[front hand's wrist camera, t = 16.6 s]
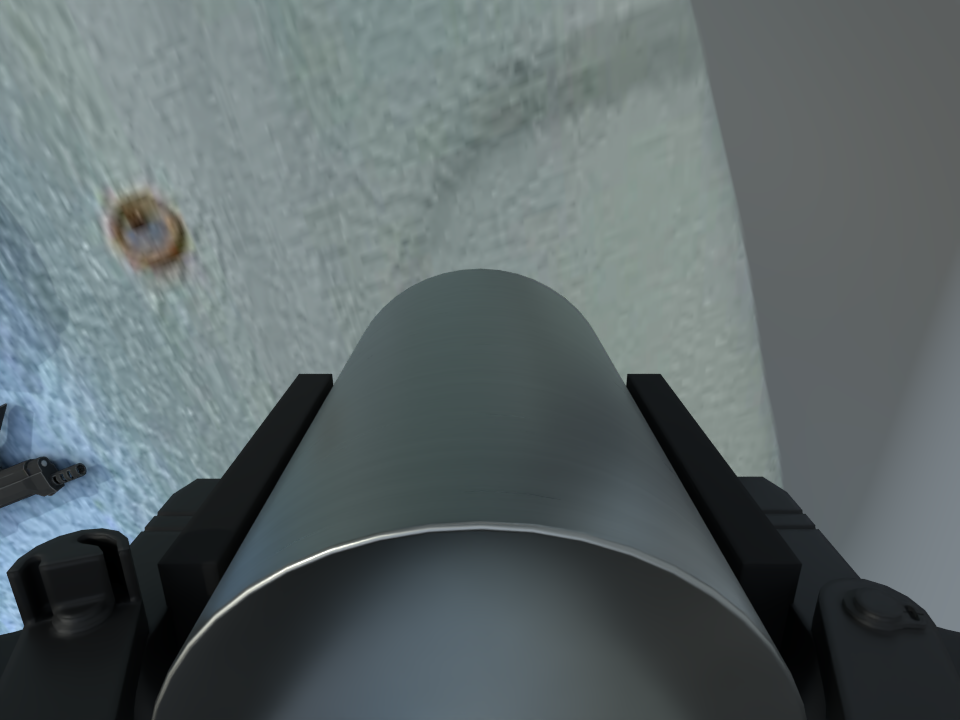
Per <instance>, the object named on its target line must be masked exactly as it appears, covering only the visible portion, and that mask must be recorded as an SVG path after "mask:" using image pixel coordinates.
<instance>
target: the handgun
mask: <svg viewBox="0 0 960 720" xmlns="http://www.w3.org/2000/svg"><path fill="white" fill-rule="evenodd" d="M6 407H7V404H3V405H1V406H0V430H1V426H2V422H3V418H4V414H5V410H6ZM77 469H78V470H79V472H78V470H77ZM68 471H70V473H71V475H72V478H71V477H70V474H69V472H68ZM61 474H63V476H64V478H65V480H63V477H62V475H61ZM85 474H86V467H85V466H84V465H83V464H82V463H78V464H76V465H73V466H71V467H68V468H65V469H63V470H60V471H58V470H57V468H56V467H55V465H54V464H51V462H50V461H49V459H48V458H47V457H39V458H37V459H29V460H27V461H24V462H22V463H19V464H17V465H14V466H12V467H9V468H7V469H2V468H0V508H2V507H4V506H7V505H10V504H12V503H15V502H17V501H20V500H22V499H25V498H27V497H30V496H33V495H35V494H37V495H41V496H47V495H49V496H52V495H54V494H55V493H56V492H57V491H58V490H60V489H61V488H62V487H63V486H65V485H64V483H66V482H68V481H71V480H73V479H76V478H79V477H81V476H84V475H85Z"/></svg>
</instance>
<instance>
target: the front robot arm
mask: <svg viewBox="0 0 960 720" xmlns="http://www.w3.org/2000/svg"><path fill="white" fill-rule="evenodd" d="M332 387H333V378H332V374H299V375H298V376H297V377H296V379H295V380H294V382H293V383H292V384H291V386H290V387H289V388H288V390H287V391H286V392H285V394H284V395H283V396H282V398H281V399H280V400H279V402H278V403H277V404H276V406H275V407H274V408H273V410H272V411H271V412H270V414H269V415H268V416H267V418H266V419H265V420H264V422H263V423H262V424H261V426H260V427H259V428H258V430H257V431H256V432H255V434H254V435H253V436H252V438H251V439H250V440H249V442H248V443H247V444H246V446H245V447H244V448H243V450H242V451H241V452H240V454H239V455H238V456H237V458H236V459H235V461H234V462H233V463H232V465H231V466H230V467H229V469H228V470H227V471H226V473H225V474H224V475H223V477H222V478H221V479H196V480H195V481H193V482H191V483H190V484H188V485H187V486H185V487H184V488H182V489H180V490H179V491H177V492H176V493H174V494H173V495H172V496H171V497H170V498H169V500H168V501H167V502H166V503H165V504H164V505H163V507H162V508H161V509H160V510H159V511H158V515H157V516H154V517H153V518H152V520H151V521H150V522H149V523H148V524H147V526H146V527H145V531H144V532H141V533H140V534H139V535H138V536H137V537H136V539H135V540H134V541H133V542H132V543H131V544H130V545H129V541H128V538H127V537H125V536H124V535H123V534H122V533H120V532H119V531H115V530H109V529H104V528H100V529H89V530H80V531H77V532H73V533H69V534H65V535H62V536H58V537H56V538H54V539H52V540H49V541H47V542H45V543H43V544H41V545H38V546H36V547H35V548H33V549H32V550H30V551H29V552H28V553H26V554H25V555H23V556H22V557H20V558H19V559H18V560H17V561H16V562H15V563H14V564H13V566H12V567H11V568H10V569H9V570H8V571H7V576H8V579H9V582H10V585H11V588H12V591H13V594H14V597H15V600H16V603H17V606H18V609H19V612H20V615H21V618H22V621H23V624H24V628H23V630H20V631H16V632H12V633H8V634H3V635H0V720H151V719H152V715H153V710H154V705H155V701H156V699H157V696H158V694H159V692H160V689H161V687H162V685H163V682H164V680H165V677H166V675H167V673H168V670H169V669H170V667H171V665H172V664H173V662H174V660H175V658H176V657H177V655H178V653H179V651H180V650H181V648H182V646H183V645H184V643H185V641H186V639H187V638H188V636H189V634H190V632H191V631H192V629H193V627H194V626H195V624H196V622H197V620H198V619H199V617H200V615H201V613H202V612H203V610H204V608H205V607H206V605H207V603H208V601H209V600H210V598H211V596H212V594H213V593H214V591H215V589H216V588H217V586H218V584H219V582H220V581H221V579H222V577H223V575H224V574H225V572H226V570H227V569H228V567H229V565H230V563H231V562H232V560H233V558H234V556H235V555H236V553H237V551H238V550H239V548H240V546H241V544H242V543H243V541H244V539H245V537H246V536H247V534H248V532H249V531H250V529H251V527H252V525H253V524H254V522H255V520H256V518H257V517H258V515H259V513H260V512H261V510H262V508H263V506H264V505H265V503H266V501H267V499H268V498H269V496H270V494H271V493H272V491H273V489H274V487H275V486H276V484H277V482H278V480H279V479H280V477H281V475H282V474H283V472H284V470H285V468H286V467H287V465H288V463H289V461H290V460H291V458H292V456H293V455H294V453H295V451H296V449H297V448H298V446H299V444H300V442H301V441H302V439H303V437H304V436H305V434H306V432H307V430H308V429H309V427H310V425H311V423H312V422H313V420H314V418H315V417H316V415H317V413H318V411H319V410H320V408H321V406H322V404H323V403H324V401H325V399H326V398H327V396H328V394H329V392H330V391H331V389H332ZM626 387H627V389H628V391H629V392H630V394H631V396H632V398H633V399H634V401H635V403H636V405H637V406H638V408H639V410H640V411H641V413H642V415H643V417H644V418H645V420H646V422H647V424H648V425H649V427H650V429H651V431H652V432H653V434H654V436H655V438H656V439H657V441H658V443H659V445H660V446H661V448H662V450H663V451H664V453H665V455H666V457H667V458H668V460H669V462H670V464H671V465H672V467H673V469H674V471H675V472H676V474H677V476H678V478H679V479H680V481H681V483H682V484H683V486H684V488H685V490H686V491H687V493H688V495H689V497H690V498H691V500H692V502H693V504H694V505H695V507H696V509H697V511H698V512H699V514H700V516H701V517H702V519H703V521H704V523H705V524H706V526H707V528H708V530H709V531H710V533H711V535H712V537H713V538H714V540H715V542H716V544H717V545H718V547H719V549H720V551H721V552H722V554H723V556H724V557H725V559H726V561H727V563H728V564H729V566H730V568H731V570H732V571H733V573H734V575H735V577H736V578H737V580H738V582H739V584H740V585H741V587H742V589H743V590H744V592H745V594H746V596H747V597H748V599H749V601H750V603H751V604H752V606H753V608H754V610H755V611H756V613H757V615H758V617H759V618H760V620H761V622H762V623H763V625H764V627H765V629H766V630H767V632H768V634H769V636H770V637H771V639H772V641H773V643H774V644H775V646H776V648H777V650H778V651H779V653H780V655H781V657H782V658H783V660H784V662H785V663H786V665H787V667H788V669H789V670H790V672H791V674H792V677H793V679H794V682H795V684H796V687H797V689H798V692H799V694H800V696H801V699H802V701H803V704H804V709H805V714H806V719H807V720H960V632H955V631H951V630H946V629H943V628H939V627H936V625H935V623H934V622H933V621H932V619H931V618H930V616H929V615H928V614H927V612H926V611H925V610H924V609H923V608H921V607H920V606H919V605H918V604H916V603H915V602H914V601H913V600H911V599H910V598H909V597H907V596H905V595H903V594H901V593H900V592H897V591H896V590H894V589H892V588H890V587H888V586H885V585H882V584H879V583H876V582H872V581H869V580H865V579H861V578H860V577H859V576H858V575H857V574H856V573H855V572H854V570H853V569H852V568H851V567H850V566H849V564H848V563H847V562H846V561H845V560H844V559H843V557H842V556H841V555H840V554H839V553H838V551H837V550H836V549H835V548H834V547H833V546H832V544H831V543H830V542H829V541H828V540H827V539H826V537H825V536H824V535H823V534H822V533H821V532H820V530H819V529H816V528H815V525H814V523H813V522H812V521H811V520H810V519H809V518H808V516H807V515H806V514H803V513H802V509H801V508H800V507H799V506H798V505H797V503H796V502H795V501H794V500H793V499H792V498H791V496H790V495H789V494H788V493H787V492H786V491H784V490H783V489H781V488H780V487H778V486H776V485H775V484H773V483H772V482H770V481H768V480H767V479H765V478H764V477H737V476H736V474H735V473H734V472H733V470H732V469H731V468H730V466H729V465H728V464H727V462H726V461H725V460H724V458H723V457H722V456H721V454H720V453H719V452H718V450H717V449H716V448H715V446H714V445H713V444H712V442H711V441H710V440H709V438H708V437H707V436H706V434H705V433H704V432H703V430H702V429H701V428H700V426H699V425H698V424H697V422H696V421H695V420H694V418H693V417H692V416H691V414H690V413H689V412H688V410H687V409H686V408H685V406H684V405H683V404H682V402H681V401H680V399H679V398H678V397H677V395H676V394H675V393H674V391H673V390H672V389H671V387H670V386H669V385H668V383H667V382H666V381H665V379H664V378H663V377H662V375H661V374H627V384H626Z"/></svg>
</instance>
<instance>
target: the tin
mask: <svg viewBox="0 0 960 720" xmlns="http://www.w3.org/2000/svg"><path fill="white" fill-rule="evenodd" d="M151 720H807V719H806V714H805V709H804V704H803V701H802V699H801V696H800V694H799V692H798V689H797V687H796V684H795V682H794V679H793V677H792V674H791V672H790V670H789V669H788V667H787V665H786V663H785V662H784V660H783V658H782V657H781V655H780V653H779V651H778V650H777V648H776V646H775V644H774V643H773V641H772V639H771V637H770V636H769V634H768V632H767V630H766V629H765V627H764V625H763V623H762V622H761V620H760V618H759V617H758V615H757V613H756V611H755V610H754V608H753V606H752V604H751V603H750V601H749V599H748V597H747V596H746V594H745V592H744V590H743V589H742V587H741V585H740V584H739V582H738V580H737V578H736V577H735V575H734V573H733V571H732V570H731V568H730V566H729V564H728V563H727V561H726V559H725V557H724V556H723V554H722V552H721V551H720V549H719V547H718V545H717V544H716V542H715V540H714V538H713V537H712V535H711V533H710V531H709V530H708V528H707V526H706V524H705V523H704V521H703V519H702V517H701V516H700V514H699V512H698V511H697V509H696V507H695V505H694V504H693V502H692V500H691V498H690V497H689V495H688V493H687V491H686V490H685V488H684V486H683V484H682V483H681V481H680V479H679V478H678V476H677V474H676V472H675V471H674V469H673V467H672V465H671V464H670V462H669V460H668V458H667V457H666V455H665V453H664V451H663V450H662V448H661V446H660V445H659V443H658V441H657V439H656V438H655V436H654V434H653V432H652V431H651V429H650V427H649V425H648V424H647V422H646V420H645V418H644V417H643V415H642V413H641V411H640V410H639V408H638V406H637V405H636V403H635V401H634V399H633V398H632V396H631V394H630V392H629V391H628V389H627V387H626V385H625V384H624V382H623V380H622V378H621V377H620V375H619V373H618V372H617V370H616V368H615V366H614V365H613V363H612V361H611V359H610V358H609V356H608V354H607V352H606V351H605V349H604V347H603V345H602V344H601V342H600V340H599V339H598V337H597V335H596V334H595V332H594V330H593V329H592V327H591V326H590V324H589V322H588V321H587V320H586V319H585V318H584V316H583V315H582V314H581V313H580V312H579V310H578V309H577V308H576V307H575V306H573V305H572V304H571V303H570V302H569V301H568V300H567V299H566V298H564V297H563V296H562V295H560V294H559V293H557V292H556V291H554V290H553V289H551V288H550V287H548V286H546V285H544V284H542V283H540V282H538V281H536V280H534V279H531V278H528V277H525V276H522V275H519V274H516V273H511V272H506V271H501V270H490V269H469V270H459V271H454V272H448V273H443V274H440V275H437V276H434V277H431V278H428V279H426V280H424V281H422V282H420V283H418V284H415V285H413V286H411V287H410V288H408V289H407V290H405V291H404V292H402V293H401V294H399V295H398V296H396V297H395V298H394V299H393V300H391V301H390V302H389V303H388V304H387V305H386V306H385V307H384V308H382V310H381V311H380V312H379V313H378V314H377V315H376V317H375V318H374V319H373V320H372V321H371V323H370V324H369V326H368V328H367V329H366V331H365V332H364V334H363V335H362V337H361V339H360V341H359V342H358V344H357V346H356V347H355V349H354V351H353V353H352V354H351V356H350V358H349V360H348V361H347V363H346V365H345V366H344V368H343V370H342V372H341V373H340V375H339V377H338V379H337V380H336V382H335V384H334V385H333V387H332V389H331V391H330V392H329V394H328V396H327V398H326V399H325V401H324V403H323V404H322V406H321V408H320V410H319V411H318V413H317V415H316V417H315V418H314V420H313V422H312V423H311V425H310V427H309V429H308V430H307V432H306V434H305V436H304V437H303V439H302V441H301V442H300V444H299V446H298V448H297V449H296V451H295V453H294V455H293V456H292V458H291V460H290V461H289V463H288V465H287V467H286V468H285V470H284V472H283V474H282V475H281V477H280V479H279V480H278V482H277V484H276V486H275V487H274V489H273V491H272V493H271V494H270V496H269V498H268V499H267V501H266V503H265V505H264V506H263V508H262V510H261V512H260V513H259V515H258V517H257V518H256V520H255V522H254V524H253V525H252V527H251V529H250V531H249V532H248V534H247V536H246V537H245V539H244V541H243V543H242V544H241V546H240V548H239V550H238V551H237V553H236V555H235V556H234V558H233V560H232V562H231V563H230V565H229V567H228V569H227V570H226V572H225V574H224V575H223V577H222V579H221V581H220V582H219V584H218V586H217V588H216V589H215V591H214V593H213V594H212V596H211V598H210V600H209V601H208V603H207V605H206V607H205V608H204V610H203V612H202V613H201V615H200V617H199V619H198V620H197V622H196V624H195V626H194V627H193V629H192V631H191V632H190V634H189V636H188V638H187V639H186V641H185V643H184V645H183V646H182V648H181V650H180V651H179V653H178V655H177V657H176V658H175V660H174V662H173V664H172V665H171V667H170V669H169V670H168V673H167V675H166V677H165V680H164V682H163V685H162V687H161V689H160V692H159V694H158V696H157V699H156V701H155V705H154V710H153V715H152V719H151Z"/></svg>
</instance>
